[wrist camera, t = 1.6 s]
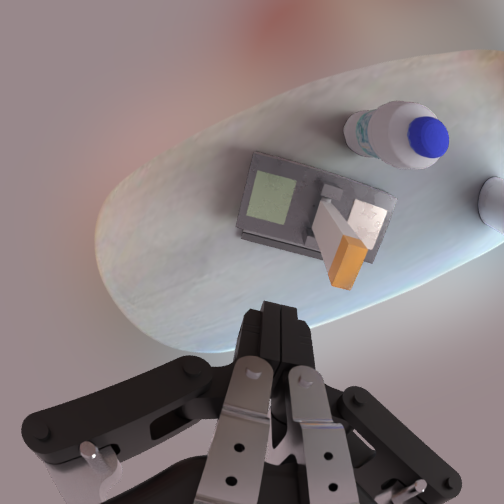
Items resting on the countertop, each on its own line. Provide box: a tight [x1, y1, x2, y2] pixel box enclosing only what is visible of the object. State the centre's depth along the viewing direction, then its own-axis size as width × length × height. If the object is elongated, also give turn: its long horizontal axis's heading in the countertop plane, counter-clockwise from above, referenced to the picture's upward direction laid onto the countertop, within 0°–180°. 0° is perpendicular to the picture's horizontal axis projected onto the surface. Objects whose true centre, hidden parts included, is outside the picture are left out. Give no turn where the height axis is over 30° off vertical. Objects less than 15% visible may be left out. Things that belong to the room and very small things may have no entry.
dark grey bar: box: [241, 229, 323, 260], centre depth 40 cm, size 18×2×1 cm, turn 76°
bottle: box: [343, 101, 449, 169], centre depth 24 cm, size 7×7×20 cm
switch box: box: [236, 152, 398, 263], centre depth 35 cm, size 20×10×7 cm, turn 76°
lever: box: [312, 196, 368, 290], centre depth 27 cm, size 2×4×15 cm, turn 166°
